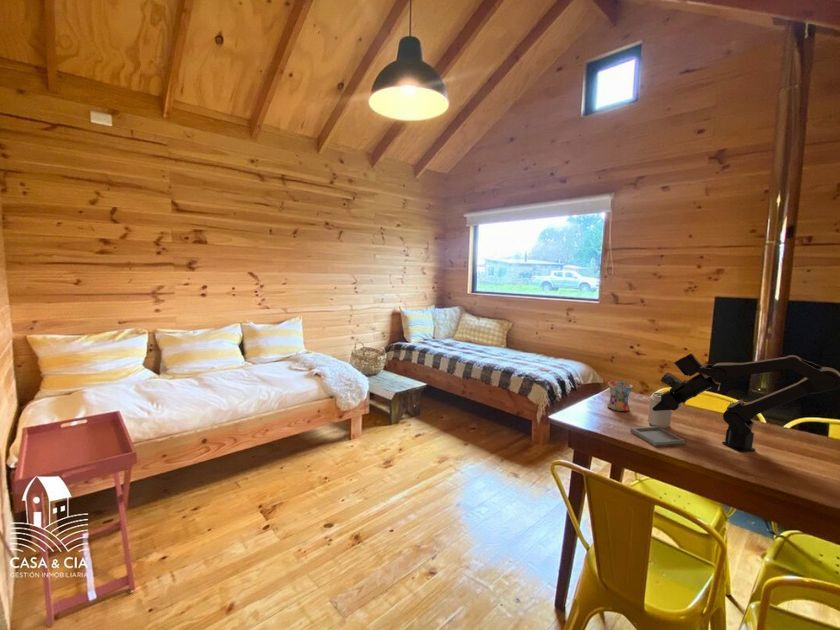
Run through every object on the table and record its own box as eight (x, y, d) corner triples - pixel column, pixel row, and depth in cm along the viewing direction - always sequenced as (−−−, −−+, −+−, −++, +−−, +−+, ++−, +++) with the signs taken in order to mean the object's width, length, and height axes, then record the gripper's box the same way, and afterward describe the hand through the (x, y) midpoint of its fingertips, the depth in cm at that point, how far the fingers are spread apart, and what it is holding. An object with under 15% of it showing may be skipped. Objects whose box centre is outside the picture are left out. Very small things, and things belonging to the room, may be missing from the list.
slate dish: (684, 444, 131) (685, 440, 131) (655, 446, 129) (655, 442, 129) (657, 430, 143) (658, 426, 142) (630, 431, 140) (630, 427, 140)
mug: (625, 414, 157) (628, 389, 156) (602, 408, 164) (604, 383, 162) (635, 407, 165) (638, 383, 164) (613, 401, 172) (615, 378, 171)
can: (661, 420, 152) (664, 391, 150) (674, 429, 144) (678, 398, 143) (642, 420, 151) (646, 391, 149) (655, 429, 144) (659, 398, 142)
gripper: (684, 363, 148) (648, 384, 157) (671, 372, 135) (633, 394, 145) (706, 388, 144) (668, 408, 153) (695, 399, 131) (654, 420, 140)
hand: (656, 407), depth 148 cm, fingers open, 8 cm apart
